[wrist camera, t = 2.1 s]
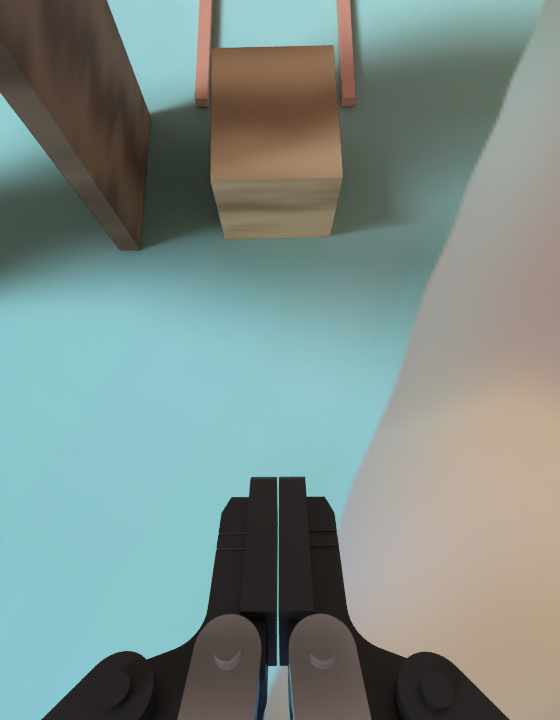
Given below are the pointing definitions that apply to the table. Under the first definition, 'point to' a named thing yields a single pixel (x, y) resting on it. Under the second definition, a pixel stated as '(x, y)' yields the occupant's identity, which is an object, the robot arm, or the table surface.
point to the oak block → (275, 141)
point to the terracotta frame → (205, 53)
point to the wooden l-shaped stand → (80, 104)
